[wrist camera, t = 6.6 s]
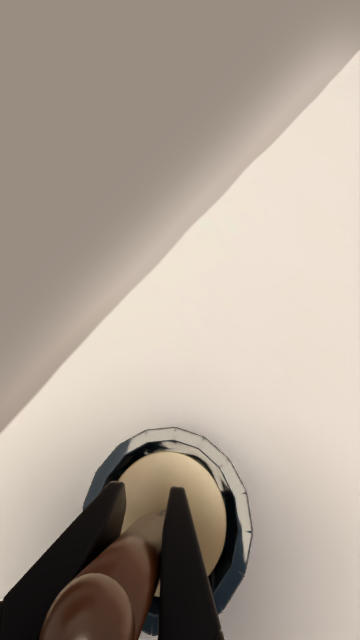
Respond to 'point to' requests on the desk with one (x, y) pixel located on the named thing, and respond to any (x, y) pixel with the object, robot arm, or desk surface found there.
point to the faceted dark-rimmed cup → (231, 488)
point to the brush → (138, 552)
